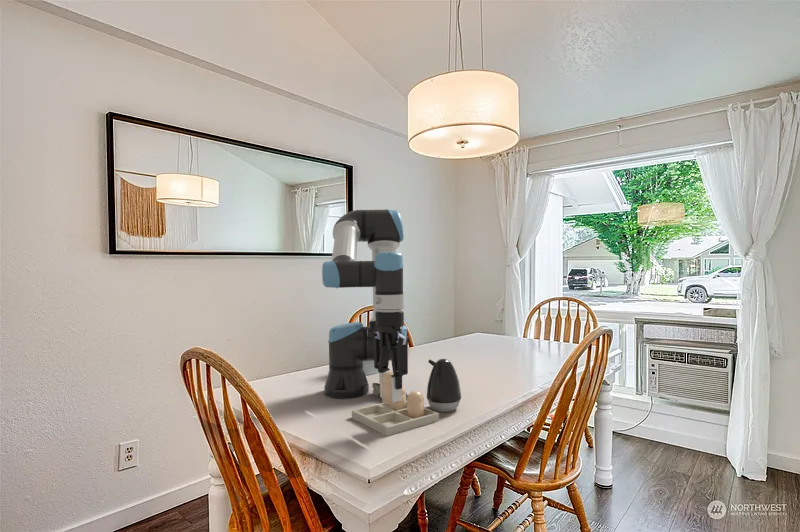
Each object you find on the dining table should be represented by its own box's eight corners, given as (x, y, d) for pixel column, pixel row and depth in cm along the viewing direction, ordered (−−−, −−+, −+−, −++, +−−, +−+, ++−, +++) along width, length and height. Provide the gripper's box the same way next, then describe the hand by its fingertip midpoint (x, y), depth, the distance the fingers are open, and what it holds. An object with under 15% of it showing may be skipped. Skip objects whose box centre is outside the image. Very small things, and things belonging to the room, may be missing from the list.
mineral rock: (413, 402, 140) (412, 388, 140) (391, 407, 136) (390, 392, 136) (390, 391, 153) (390, 379, 153) (369, 395, 149) (369, 382, 149)
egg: (378, 401, 118) (378, 371, 118) (392, 397, 121) (392, 369, 121) (388, 405, 114) (388, 374, 114) (403, 401, 117) (402, 372, 117)
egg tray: (351, 419, 125) (351, 410, 125) (401, 406, 136) (401, 398, 136) (387, 437, 111) (386, 427, 111) (439, 422, 122) (439, 413, 122)
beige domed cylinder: (387, 411, 130) (386, 384, 130) (399, 408, 133) (399, 382, 133) (396, 415, 126) (395, 388, 126) (409, 412, 129) (408, 385, 129)
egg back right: (404, 419, 123) (403, 391, 123) (417, 415, 126) (416, 388, 126) (414, 423, 119) (414, 394, 119) (427, 420, 122) (427, 391, 122)
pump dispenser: (438, 402, 139) (438, 354, 139) (467, 408, 133) (467, 358, 133) (419, 411, 132) (418, 359, 132) (449, 418, 125) (448, 364, 125)
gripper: (360, 309, 123) (361, 394, 122) (397, 313, 108) (399, 409, 108) (382, 307, 127) (383, 389, 127) (421, 311, 113) (423, 403, 113)
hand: (390, 398), depth 118 cm, fingers closed on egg, 4 cm apart
